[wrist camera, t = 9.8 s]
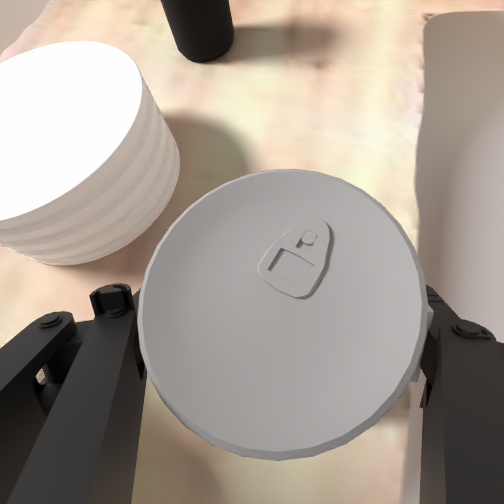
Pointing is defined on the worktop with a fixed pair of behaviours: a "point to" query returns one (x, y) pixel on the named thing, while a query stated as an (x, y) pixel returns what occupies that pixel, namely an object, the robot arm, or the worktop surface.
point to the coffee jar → (200, 27)
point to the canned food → (282, 314)
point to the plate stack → (80, 153)
